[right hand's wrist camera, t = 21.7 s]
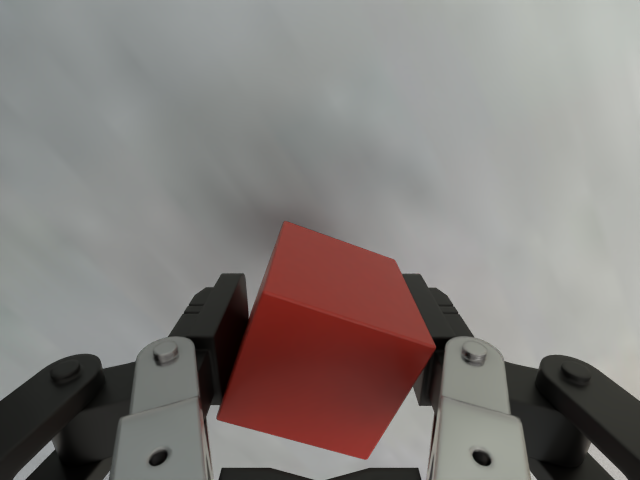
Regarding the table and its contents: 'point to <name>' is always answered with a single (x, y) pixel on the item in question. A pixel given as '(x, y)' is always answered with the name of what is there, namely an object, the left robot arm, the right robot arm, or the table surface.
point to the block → (327, 346)
